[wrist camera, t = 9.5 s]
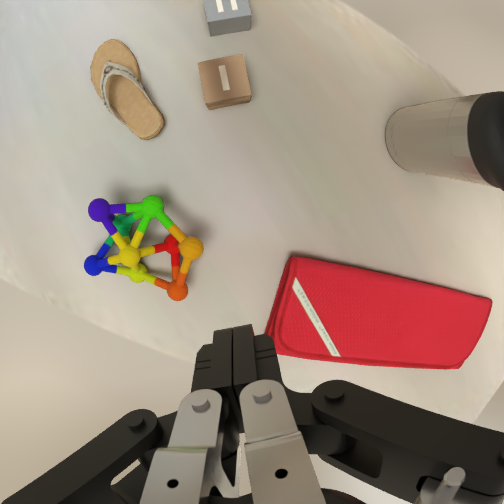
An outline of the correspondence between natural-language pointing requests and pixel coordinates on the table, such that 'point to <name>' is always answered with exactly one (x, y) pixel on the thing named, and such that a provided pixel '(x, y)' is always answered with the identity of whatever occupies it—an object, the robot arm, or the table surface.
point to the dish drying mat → (372, 318)
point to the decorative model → (129, 249)
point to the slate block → (227, 16)
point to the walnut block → (224, 81)
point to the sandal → (124, 89)
